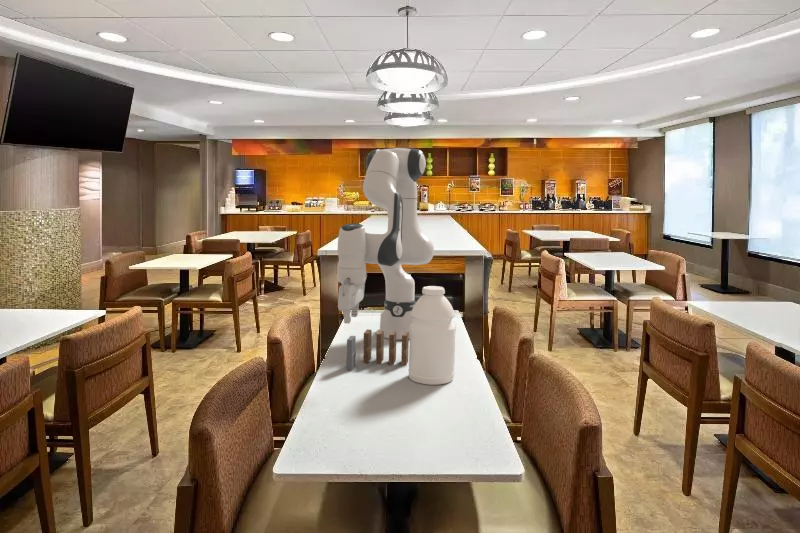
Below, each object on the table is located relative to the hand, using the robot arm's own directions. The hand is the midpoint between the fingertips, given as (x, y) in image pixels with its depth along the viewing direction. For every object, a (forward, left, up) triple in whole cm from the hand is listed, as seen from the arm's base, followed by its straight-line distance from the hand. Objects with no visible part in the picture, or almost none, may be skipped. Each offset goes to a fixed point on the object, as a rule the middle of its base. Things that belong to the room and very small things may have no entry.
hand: (350, 319), depth 184 cm
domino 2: (-9, +8, -16) cm, 20 cm away
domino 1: (-9, +4, -16) cm, 19 cm away
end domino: (0, 0, -16) cm, 16 cm away
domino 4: (-9, +16, -16) cm, 24 cm away
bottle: (+4, +26, -16) cm, 31 cm away
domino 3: (-9, +12, -16) cm, 22 cm away
